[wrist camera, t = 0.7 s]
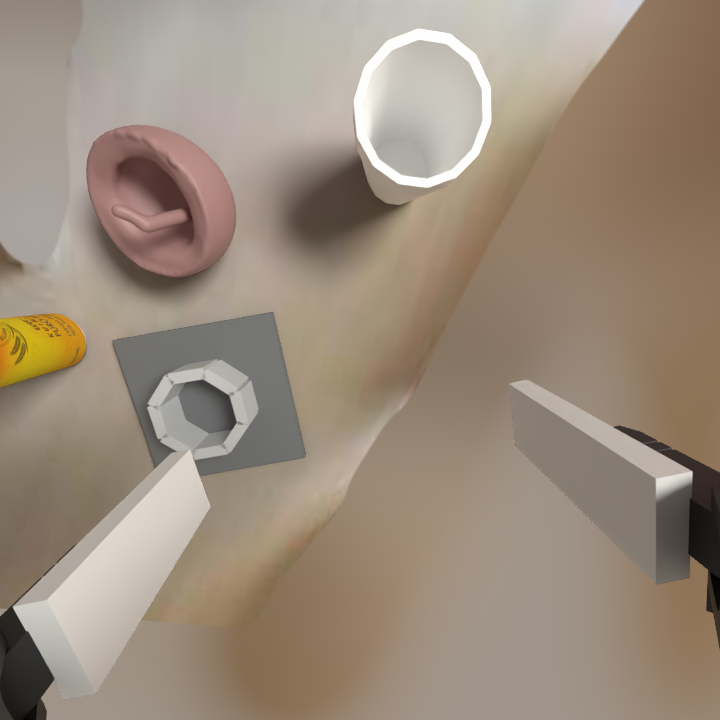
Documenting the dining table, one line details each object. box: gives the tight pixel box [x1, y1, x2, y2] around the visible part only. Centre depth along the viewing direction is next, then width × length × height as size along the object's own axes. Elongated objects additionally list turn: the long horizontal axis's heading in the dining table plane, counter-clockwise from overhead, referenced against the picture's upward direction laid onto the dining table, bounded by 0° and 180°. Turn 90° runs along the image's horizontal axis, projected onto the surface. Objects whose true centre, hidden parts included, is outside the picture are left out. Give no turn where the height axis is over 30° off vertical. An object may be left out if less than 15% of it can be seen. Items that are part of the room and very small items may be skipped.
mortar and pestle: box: [86, 125, 236, 277], centre depth 30 cm, size 12×12×12 cm
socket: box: [113, 312, 306, 476], centre depth 38 cm, size 18×18×5 cm
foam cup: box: [353, 29, 491, 205], centre depth 29 cm, size 10×9×13 cm
